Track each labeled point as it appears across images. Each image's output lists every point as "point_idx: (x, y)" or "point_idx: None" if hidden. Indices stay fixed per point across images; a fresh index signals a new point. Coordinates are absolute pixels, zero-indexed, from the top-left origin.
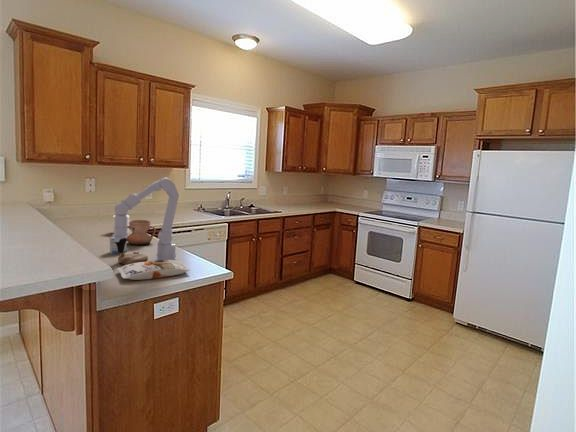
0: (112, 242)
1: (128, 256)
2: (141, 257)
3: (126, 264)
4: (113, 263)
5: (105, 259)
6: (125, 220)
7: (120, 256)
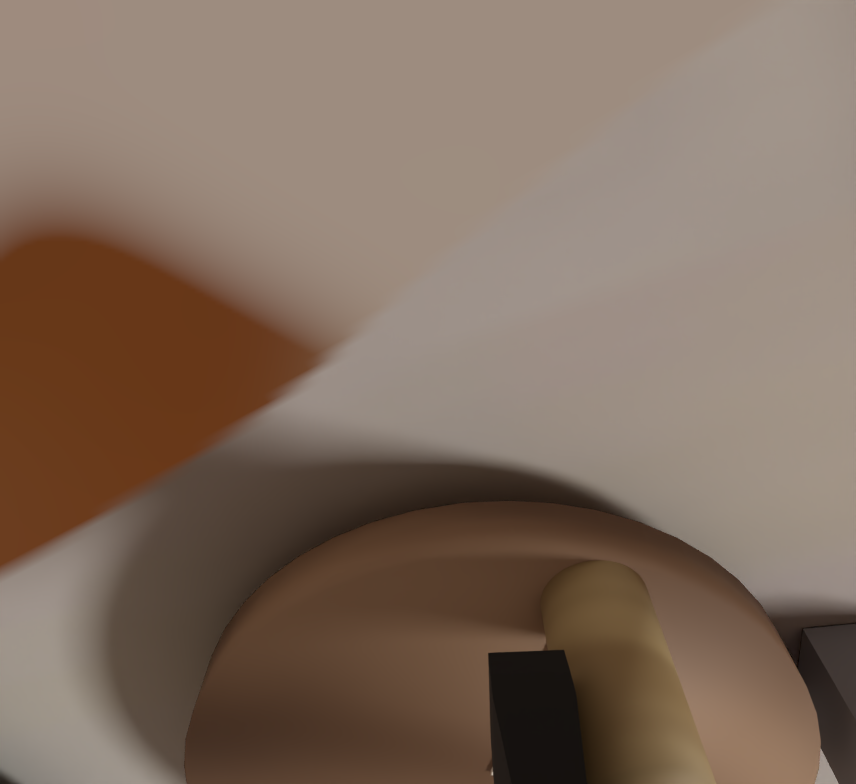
0: None
1: None
2: None
3: None
4: (368, 396)
5: (749, 51)
6: None
7: (557, 573)
